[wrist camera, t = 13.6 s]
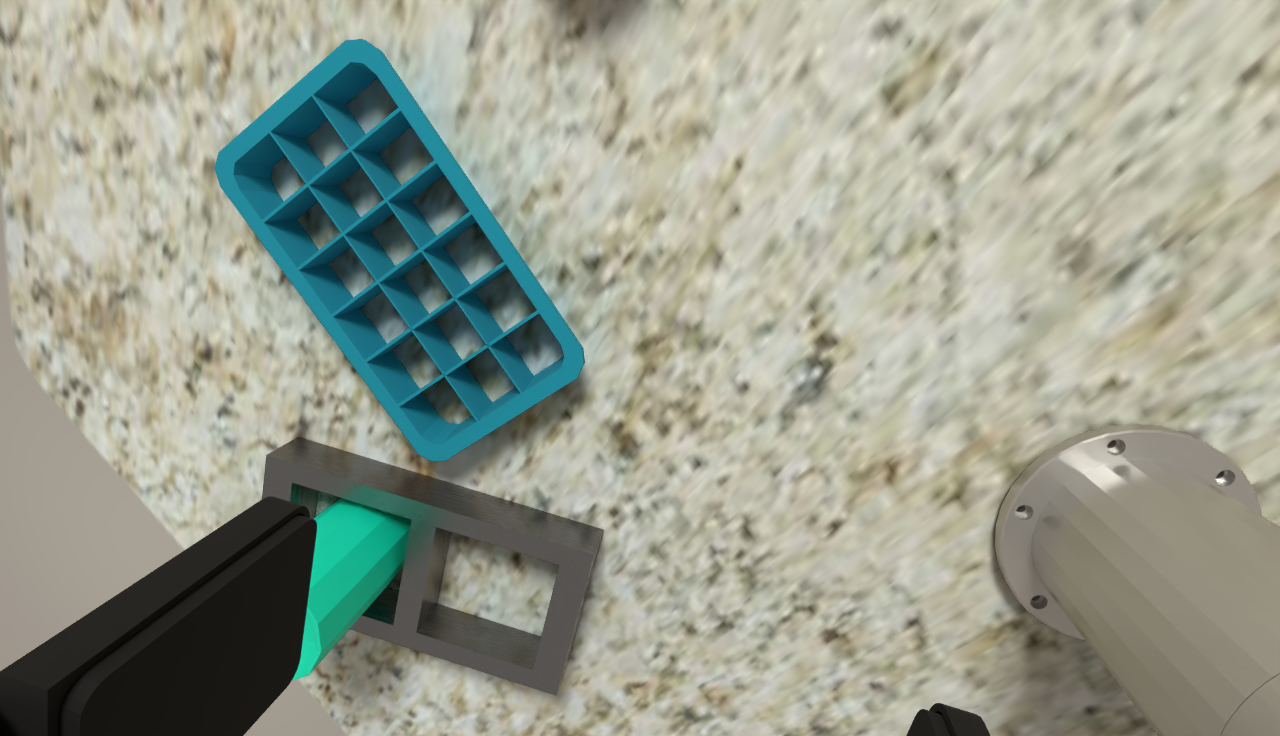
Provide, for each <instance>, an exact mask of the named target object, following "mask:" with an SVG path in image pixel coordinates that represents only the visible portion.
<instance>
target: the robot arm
mask: <svg viewBox="0 0 1280 736" xmlns="http://www.w3.org/2000/svg"><path fill="white" fill-rule="evenodd" d="M1110 441H1111V443H1110V444H1109V442H1110ZM1020 506H1022V507H1021V508H1019V509H1018V507H1020ZM316 534H317V523H316V521H315V520H314V519H311V518H310V513H309V509H308V508H307V507H305V506H302V505H299V504H296V503H293V502H290V501H286V500H283V499H280V498H277V497H273V496H269V497H266V498H264V499H262V500H261V501H259V502H258V503H256V504H255V505H253V506H252V507H250V508H249V509H247V510H246V511H244V512H243V513H241V514H239V515H238V516H236V517H235V518H233V519H232V520H230V521H229V522H227V523H226V524H224V525H223V526H221V527H220V528H218V529H217V530H215V531H214V532H212V533H211V534H209V535H207V536H206V537H204V538H203V539H201V540H200V541H198V542H197V543H195V544H194V545H192V546H191V547H189V548H188V549H186V550H185V551H183V552H182V553H180V554H179V555H177V556H175V557H174V558H172V559H171V560H169V561H168V562H166V563H165V564H164V565H162V566H160V567H159V568H157V569H156V570H154V571H153V572H151V573H150V574H148V575H147V576H145V577H144V578H142V579H141V580H139V581H138V582H136V583H134V584H133V585H132V586H130V587H128V588H127V589H125V590H124V591H122V592H121V593H119V594H118V595H116V596H115V597H113V598H112V599H110V600H108V601H107V602H105V603H104V604H103V605H101V606H99V607H98V608H96V609H95V610H93V611H92V612H90V613H89V614H88V615H86V616H84V617H83V618H81V619H80V620H78V621H76V622H75V623H73V624H72V625H70V626H69V627H67V628H66V629H64V630H63V631H61V632H60V633H58V634H57V635H55V636H54V637H52V638H51V639H49V640H48V641H46V642H45V643H43V644H41V645H40V646H38V647H37V648H35V649H34V650H32V651H31V652H29V653H28V654H26V655H25V656H23V657H22V658H20V659H19V660H17V661H16V662H14V663H13V664H11V665H9V666H8V667H6V668H5V669H3V670H2V671H0V736H243V735H244V734H245V733H246V732H247V731H248V730H249V729H250V727H251V726H252V725H253V724H254V723H255V722H256V721H257V719H259V717H260V716H261V715H262V714H263V713H264V712H265V711H266V710H267V708H269V706H270V705H271V704H272V703H273V702H274V701H275V700H276V699H277V697H278V696H279V695H280V694H281V693H282V692H283V691H284V690H285V689H286V688H287V686H288V685H289V684H290V682H291V681H292V679H293V677H294V676H295V674H296V671H297V669H298V666H299V663H300V658H301V650H302V643H303V635H304V627H305V619H306V612H307V604H308V596H309V589H310V581H311V573H312V565H313V558H314V550H315V542H316ZM995 549H996V555H997V561H998V565H999V567H1000V570H1001V572H1002V574H1003V577H1004V579H1005V581H1006V583H1007V584H1008V586H1009V587H1010V589H1011V590H1012V592H1013V594H1014V595H1015V597H1016V598H1017V599H1018V601H1019V602H1020V603H1021V604H1022V605H1023V606H1024V608H1025V609H1026V610H1027V611H1028V612H1029V613H1030V614H1032V615H1033V616H1034V617H1036V618H1037V619H1038V620H1040V621H1041V622H1042V623H1044V624H1045V625H1046V626H1048V627H1050V628H1052V629H1054V630H1056V631H1058V632H1060V633H1062V634H1064V635H1067V636H1070V637H1073V638H1077V639H1080V640H1083V641H1086V642H1087V643H1088V644H1089V646H1090V647H1091V648H1092V649H1093V651H1094V652H1095V653H1096V655H1097V656H1098V657H1099V659H1100V660H1101V661H1102V663H1103V664H1104V665H1105V666H1106V668H1107V669H1108V670H1109V672H1110V673H1111V674H1112V676H1113V677H1114V678H1115V680H1116V681H1117V682H1118V683H1119V685H1120V686H1121V687H1122V689H1123V690H1124V691H1125V693H1126V694H1127V695H1128V696H1129V698H1130V699H1131V700H1132V702H1133V703H1134V704H1135V706H1136V707H1137V708H1138V710H1139V711H1140V712H1141V713H1142V715H1143V716H1144V717H1145V719H1146V720H1147V721H1148V723H1149V724H1150V725H1151V726H1152V728H1153V729H1154V730H1155V732H1156V733H1157V734H1158V736H1280V527H1279V526H1278V525H1276V524H1274V523H1273V522H1271V521H1270V520H1268V519H1266V518H1265V517H1263V516H1262V514H1261V508H1260V505H1259V502H1258V499H1257V496H1256V493H1255V490H1254V488H1253V487H1252V485H1251V484H1250V482H1249V481H1248V479H1247V477H1246V476H1245V474H1244V473H1243V471H1242V470H1241V469H1240V468H1239V467H1238V466H1237V465H1235V464H1234V463H1233V462H1232V461H1231V460H1230V459H1229V458H1228V457H1227V456H1226V455H1224V454H1223V453H1221V452H1220V451H1218V450H1216V449H1215V448H1213V447H1212V446H1210V445H1208V444H1207V443H1205V442H1203V441H1201V440H1199V439H1197V438H1195V437H1193V436H1191V435H1188V434H1186V433H1184V432H1180V431H1176V430H1173V429H1169V428H1166V427H1162V426H1152V425H1141V424H1131V425H1116V426H1109V427H1104V428H1100V429H1096V430H1091V431H1087V432H1084V433H1082V434H1080V435H1077V436H1075V437H1072V438H1070V439H1067V440H1065V441H1063V442H1061V443H1060V444H1058V445H1056V446H1055V447H1053V448H1051V449H1050V450H1048V451H1046V452H1045V453H1043V454H1042V455H1041V456H1040V457H1038V458H1037V459H1036V460H1035V461H1034V462H1033V463H1032V464H1030V465H1029V466H1028V467H1027V468H1026V469H1025V470H1024V471H1023V472H1022V474H1021V475H1020V476H1019V477H1018V479H1017V480H1016V481H1015V482H1014V484H1013V485H1012V486H1011V488H1010V490H1009V492H1008V494H1007V496H1006V497H1005V499H1004V501H1003V503H1002V505H1001V508H1000V512H999V516H998V519H997V523H996V530H995ZM907 736H990V734H989V732H988V730H987V727H986V725H985V723H984V722H983V720H982V718H981V717H979V716H978V715H976V714H973V713H970V712H967V711H964V710H960V709H957V708H954V707H951V706H947V705H944V704H941V703H936V704H934V705H933V706H932V707H931V708H930V710H929V711H928V710H925V709H921V710H920V711H919V712H918V713H917V714H916V716H915V718H914V720H913V723H912V725H911V727H910V729H909V731H908V733H907Z"/></svg>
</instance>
